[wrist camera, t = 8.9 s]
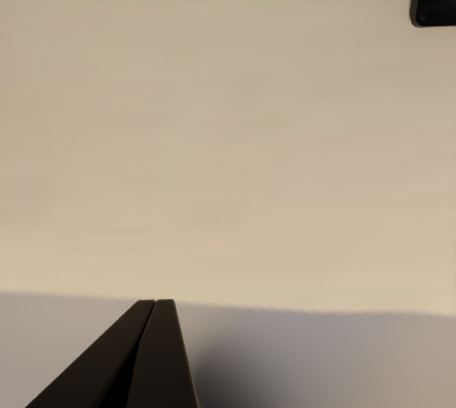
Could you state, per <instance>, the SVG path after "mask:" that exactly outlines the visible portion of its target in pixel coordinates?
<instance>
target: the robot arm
mask: <svg viewBox="0 0 456 408" xmlns="http://www.w3.org/2000/svg"><path fill="white" fill-rule="evenodd" d="M423 10H425V11H426V13H427V16H426V19H425V20H424V21H423V20H422V19H421V13H422V11H423ZM411 22H412V25H414V26H415V27H418V28H425V27H456V0H414V2H413V8H412V13H411ZM25 408H199V404H198V399H197V395H196V391H195V387H194V382H193V378H192V374H191V370H190V365H189V361H188V357H187V353H186V349H185V344H184V340H183V336H182V331H181V327H180V323H179V318H178V314H177V310H176V306H175V302H174V300H173V299H159V300H157V301H155V300H139V301H137V302H136V303H135V304H134V305H132V306H131V307H130V308H129V309H128V310H127V311H126V312H125V313H124V314H123V315H122V316H121V317H120V318H119V319H118V320H117V321H116V322H115V323H114V324H113V325H112V326H110V327H109V328H108V329H107V330H106V331H105V332H104V333H103V334H102V335H101V336H100V337H99V338H98V339H97V340H96V341H95V342H93V344H91V345H90V346H89V347H88V348H87V349H86V350H85V351H84V352H83V353H82V354H81V355H80V356H79V357H78V358H77V359H76V360H75V361H73V362H72V363H71V364H70V365H69V366H68V367H67V368H66V369H65V370H64V371H63V372H62V373H61V374H60V375H59V376H58V377H57V378H56V379H54V380H53V381H52V382H51V383H50V384H49V385H48V386H47V387H46V388H45V389H44V390H43V391H42V392H41V393H40V394H39V395H38V396H37V397H36V398H34V399H33V400H32V401H31V402H30V403H29V404H28V405H27V406H26V407H25Z"/></svg>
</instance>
